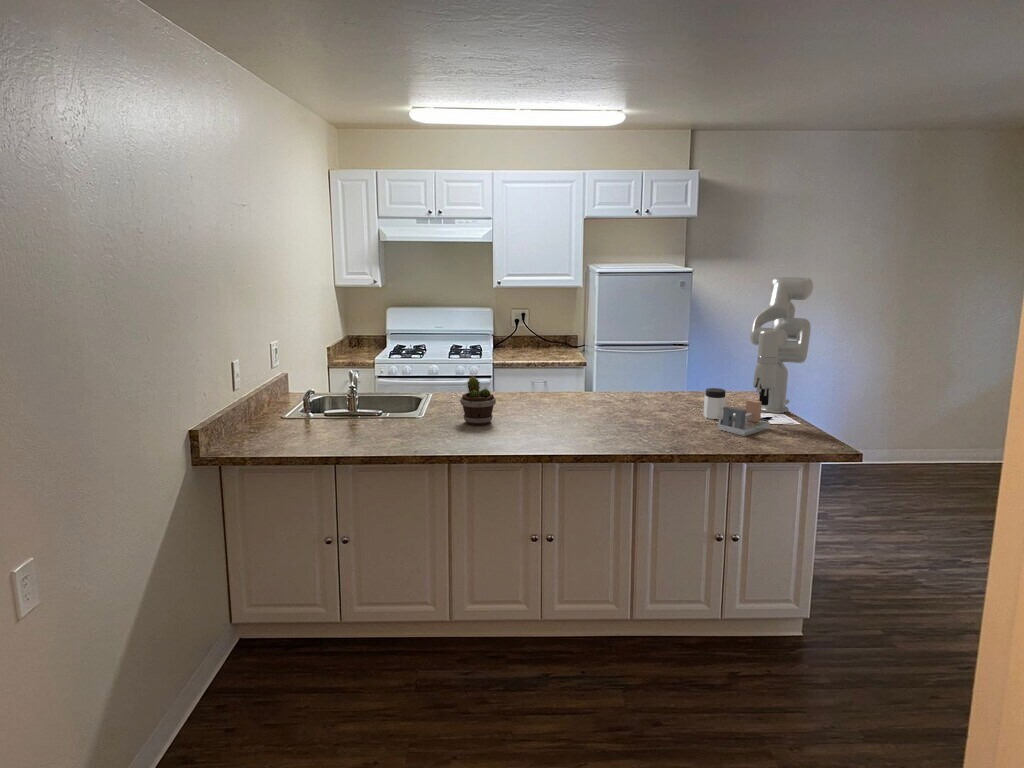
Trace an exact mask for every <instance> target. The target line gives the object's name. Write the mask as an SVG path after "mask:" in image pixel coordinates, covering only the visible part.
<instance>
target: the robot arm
mask: <svg viewBox="0 0 1024 768" xmlns="http://www.w3.org/2000/svg"><path fill="white" fill-rule="evenodd" d="M813 289H814V284H813V280H812V278H810V277H801V276H800V277H799V276H798V277H796V276H795V277H794V276H780V277H775V278H773V279H772V280H771V283H770V291H771V293H770V296H769V301H768V307H767V308H765V309H763V310H762V311H761V312H760V313H758V315H757V316H756V317H755V318H754V320H753V322H752V327H751V330H750V337H749V339H750V342H751V344H752V345H754V346H758V347H757V348H758V349H757V362H756V366H755V368H754V369H755V370H754V376H753V382H752V387H753V388H754V389H756V392H757V393H758V395H759V398H758V399H759V400H758V401H761V402H762V404H761V412H765V413H772V414H786V413H788V412H789V410H790V408H789V407H787V406H786V405H788V404H790V399H787V389H788V376H789V371H788V369H787V367H786V365H785V363H793V364H803V363H804V362H805V361H806V360H807V357H808V351H809V345H810V337H811V328H812V327H811V322H810V321H809V319H807V318H802V317H795V313H796V308H795V307H796V306H794V304H793V302H792V301H793V300H795V301H806V300H807V299H808V298H809V297H810V296H811V295H812V293H813ZM770 322H772V325H771V326H772V327H762V326H764V325H765V324H767V323H770ZM784 412H785V413H784Z"/></svg>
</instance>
